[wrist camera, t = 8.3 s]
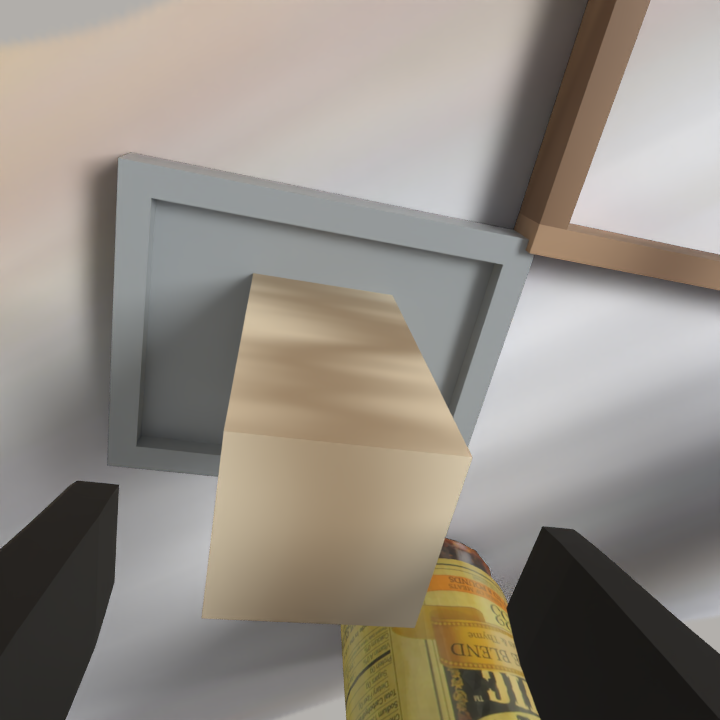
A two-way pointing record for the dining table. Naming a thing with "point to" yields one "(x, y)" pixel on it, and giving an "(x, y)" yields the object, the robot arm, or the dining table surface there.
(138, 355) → the tray
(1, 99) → the dining table surface
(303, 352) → the peg
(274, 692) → the dining table surface
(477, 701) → the sauce bottle
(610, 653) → the robot arm
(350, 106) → the dining table surface
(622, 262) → the holder
